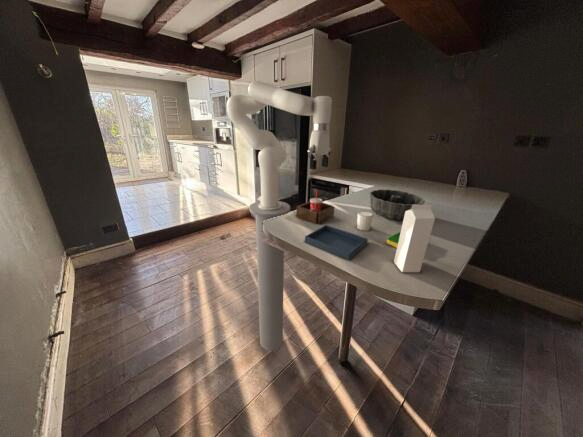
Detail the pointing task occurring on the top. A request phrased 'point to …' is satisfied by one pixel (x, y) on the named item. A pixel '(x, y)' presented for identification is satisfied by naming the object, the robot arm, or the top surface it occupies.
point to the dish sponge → (394, 240)
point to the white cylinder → (364, 220)
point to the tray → (336, 241)
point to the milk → (414, 238)
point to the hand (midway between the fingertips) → (319, 167)
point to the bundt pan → (393, 202)
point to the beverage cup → (316, 203)
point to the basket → (315, 213)
